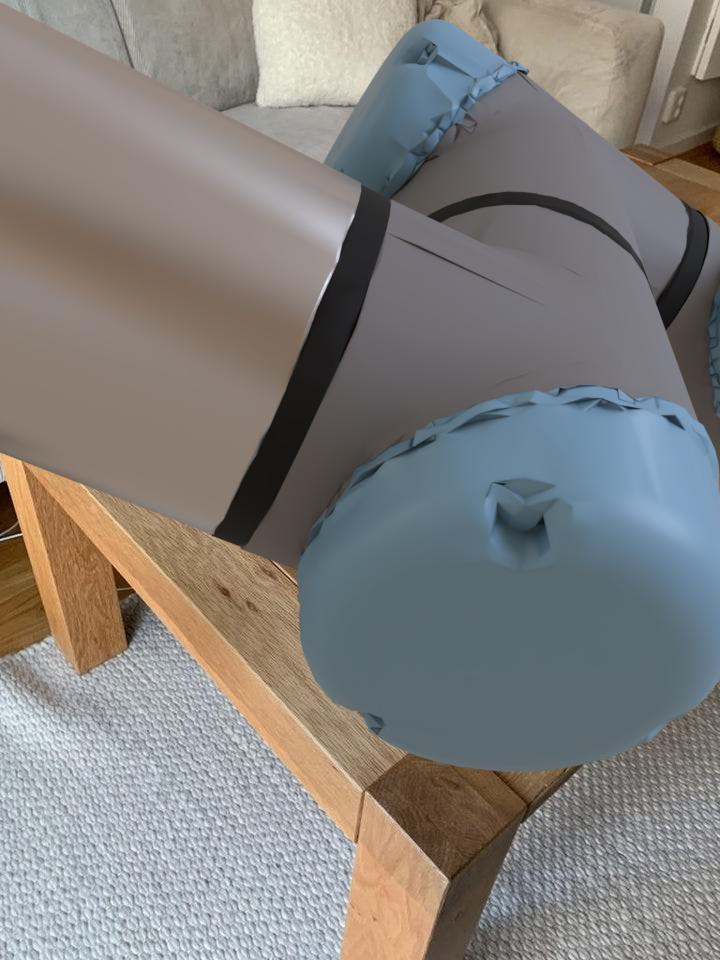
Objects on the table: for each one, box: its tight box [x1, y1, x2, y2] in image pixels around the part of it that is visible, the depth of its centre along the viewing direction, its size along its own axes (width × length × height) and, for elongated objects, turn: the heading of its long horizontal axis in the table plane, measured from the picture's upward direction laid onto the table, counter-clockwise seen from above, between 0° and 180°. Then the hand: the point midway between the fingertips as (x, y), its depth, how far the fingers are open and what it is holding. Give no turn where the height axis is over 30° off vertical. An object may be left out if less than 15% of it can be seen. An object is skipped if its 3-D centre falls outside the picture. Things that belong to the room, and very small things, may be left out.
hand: (368, 468), depth 60 cm, fingers closed on figurine, 6 cm apart
